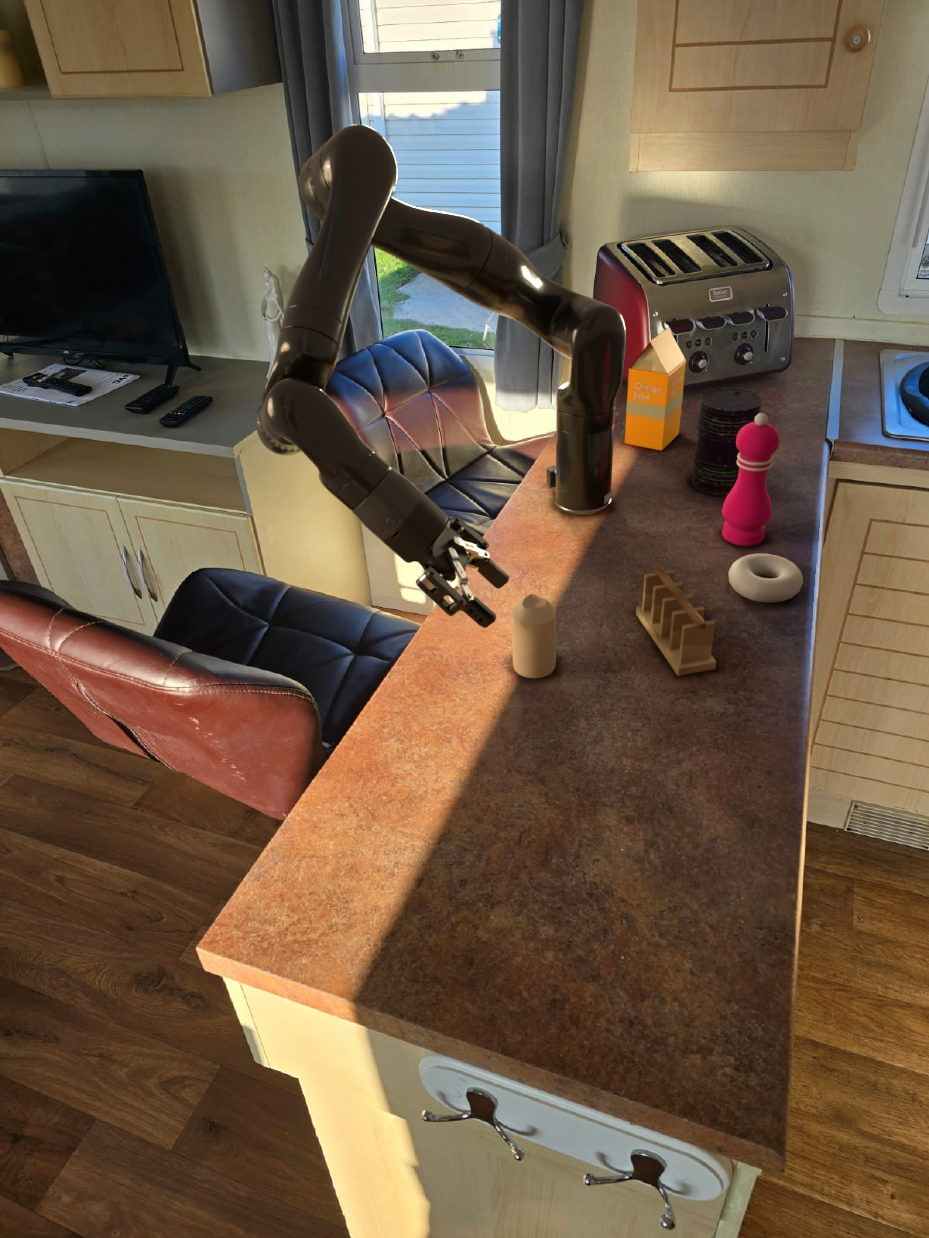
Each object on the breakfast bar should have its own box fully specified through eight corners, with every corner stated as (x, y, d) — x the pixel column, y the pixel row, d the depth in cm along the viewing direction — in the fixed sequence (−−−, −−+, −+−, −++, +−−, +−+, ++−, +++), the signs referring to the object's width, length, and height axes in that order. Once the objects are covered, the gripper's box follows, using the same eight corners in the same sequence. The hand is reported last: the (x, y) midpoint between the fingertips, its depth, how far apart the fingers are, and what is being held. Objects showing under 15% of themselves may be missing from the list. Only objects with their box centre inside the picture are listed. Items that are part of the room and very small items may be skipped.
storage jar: (739, 499, 142) (752, 414, 133) (682, 488, 147) (691, 404, 138) (757, 476, 149) (770, 393, 140) (702, 465, 153) (712, 384, 145)
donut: (799, 613, 115) (801, 573, 123) (804, 592, 113) (806, 553, 121) (723, 602, 118) (730, 564, 126) (726, 582, 116) (733, 544, 124)
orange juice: (679, 433, 165) (689, 329, 154) (662, 450, 159) (671, 343, 148) (641, 426, 169) (648, 324, 157) (623, 443, 163) (629, 338, 151)
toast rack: (635, 614, 117) (639, 567, 113) (670, 608, 118) (674, 562, 113) (677, 676, 106) (683, 627, 101) (715, 669, 107) (722, 620, 102)
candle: (510, 654, 111) (508, 590, 105) (552, 650, 111) (552, 586, 106) (515, 680, 107) (514, 615, 101) (559, 676, 107) (560, 611, 101)
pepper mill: (769, 549, 129) (791, 424, 117) (719, 546, 130) (736, 422, 119) (765, 525, 135) (786, 404, 123) (718, 523, 136) (734, 403, 124)
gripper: (397, 505, 108) (489, 587, 112) (362, 563, 97) (465, 652, 101) (434, 469, 104) (528, 556, 108) (402, 526, 93) (508, 620, 97)
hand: (498, 602), depth 105 cm, fingers open, 8 cm apart
